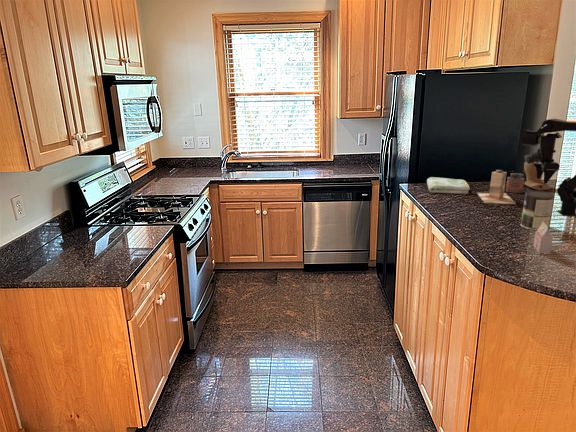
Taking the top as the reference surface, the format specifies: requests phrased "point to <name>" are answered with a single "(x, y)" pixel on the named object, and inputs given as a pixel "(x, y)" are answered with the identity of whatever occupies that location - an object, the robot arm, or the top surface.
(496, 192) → the pepper mill
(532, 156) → the robot arm
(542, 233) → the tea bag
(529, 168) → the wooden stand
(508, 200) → the card
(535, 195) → the coffee can
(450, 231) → the top surface
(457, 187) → the towel
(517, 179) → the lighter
